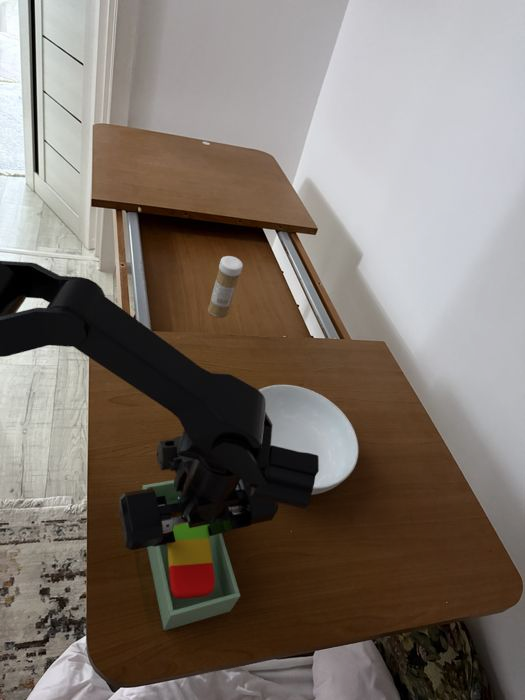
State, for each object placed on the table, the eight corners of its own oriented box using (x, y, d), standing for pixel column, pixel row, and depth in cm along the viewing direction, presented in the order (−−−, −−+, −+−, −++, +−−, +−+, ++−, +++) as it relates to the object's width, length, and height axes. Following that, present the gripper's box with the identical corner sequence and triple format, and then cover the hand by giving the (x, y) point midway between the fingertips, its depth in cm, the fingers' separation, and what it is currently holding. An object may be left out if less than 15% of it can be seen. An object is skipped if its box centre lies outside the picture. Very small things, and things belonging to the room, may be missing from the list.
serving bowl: (357, 445, 94) (373, 423, 89) (318, 534, 79) (335, 513, 74) (261, 389, 97) (272, 365, 92) (206, 465, 82) (215, 440, 77)
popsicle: (169, 601, 62) (172, 595, 60) (162, 490, 72) (164, 483, 70) (213, 597, 63) (217, 591, 62) (200, 489, 73) (203, 482, 72)
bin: (230, 611, 67) (240, 596, 63) (163, 631, 63) (170, 616, 59) (197, 493, 78) (204, 474, 74) (138, 504, 74) (142, 485, 70)
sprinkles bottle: (230, 310, 111) (246, 260, 102) (223, 321, 108) (239, 271, 99) (211, 302, 111) (225, 252, 102) (204, 313, 108) (217, 262, 99)
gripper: (265, 409, 65) (235, 473, 76) (117, 426, 57) (106, 494, 68) (297, 485, 59) (259, 544, 69) (134, 516, 50) (119, 577, 61)
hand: (188, 537), depth 67 cm, fingers closed on popsicle, 6 cm apart
